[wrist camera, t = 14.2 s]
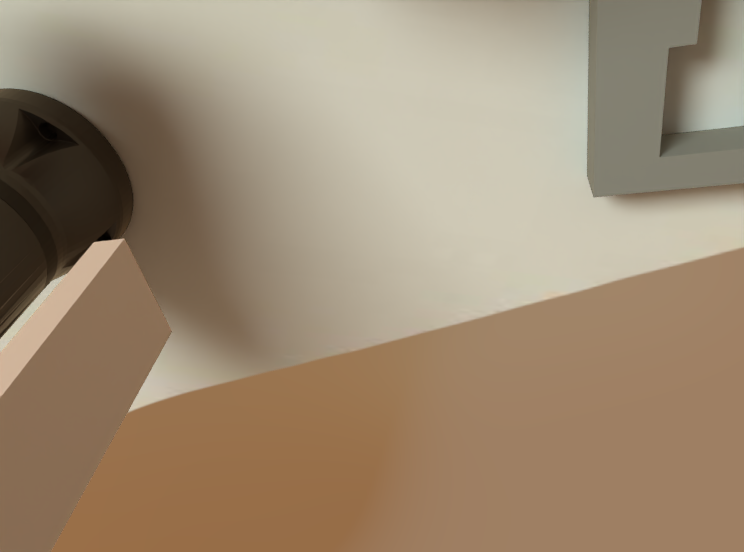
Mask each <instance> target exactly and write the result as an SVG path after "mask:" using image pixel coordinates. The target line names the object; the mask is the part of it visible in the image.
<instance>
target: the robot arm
mask: <svg viewBox="0 0 744 552" xmlns="http://www.w3.org/2000/svg"><path fill="white" fill-rule="evenodd" d="M132 210H133V196H132V189H131V185H130V181H129V178H128V175H127V173H126V170H125V168H124V166H123V164H122V162H121V160H120V159H119V157H118V155H117V154H116V152H115V151H114V149H113V148H112V146H111V145H110V144H109V142H108V141H107V140H106V139H105V138H104V137H103V135H102V134H101V133H100V132H99V131H98V130H97V129H96V128H95V127H94V126H93V125H91V124H90V123H89V122H88V121H87V120H86V119H84V118H83V117H82V116H80V115H79V114H78V113H76V112H75V111H73V110H72V109H70V108H69V107H67V106H65V105H63V104H62V103H60V102H58V101H56V100H53V99H51V98H49V97H46V96H44V95H41V94H38V93H34V92H31V91H26V90H20V89H0V339H1V337H2V336H3V335H4V334H5V333H6V332H7V331H8V329H9V328H10V327H11V326H12V325H13V324H14V323H15V321H16V320H17V319H18V318H19V317H20V316H21V315H22V313H23V312H24V311H25V310H26V309H27V308H28V307H29V306H30V304H31V303H32V302H33V301H34V300H35V299H36V298H37V296H38V295H39V294H40V293H41V292H42V291H43V290H44V288H45V287H46V286H47V285H48V284H49V283H50V282H51V281H52V280H54V279H57V278H59V277H61V276H63V275H65V274H67V275H66V276H65V277H64V278H63V279H62V281H61V282H60V283H59V284H58V285H57V286H56V288H55V289H54V290H53V291H52V292H51V294H50V295H49V296H48V297H47V298H46V299H45V301H44V302H43V303H42V304H41V305H40V307H39V308H38V309H37V310H36V311H35V312H34V314H33V315H32V316H31V317H30V318H29V320H28V321H27V322H26V323H25V324H24V325H23V327H22V328H21V329H20V330H19V331H18V333H17V334H16V335H15V336H14V337H13V339H12V340H11V341H10V342H9V343H8V344H7V346H6V347H5V348H4V349H3V350H2V352H1V353H0V552H51V550H52V548H53V547H54V545H55V543H56V541H57V539H58V538H59V536H60V534H61V532H62V530H63V528H64V527H65V525H66V523H67V521H68V519H69V518H70V516H71V514H72V512H73V510H74V509H75V507H76V505H77V503H78V501H79V499H80V498H81V496H82V494H83V492H84V490H85V488H86V487H87V485H88V483H89V481H90V479H91V478H92V476H93V474H94V472H95V470H96V469H97V467H98V465H99V463H100V461H101V459H102V458H103V456H104V454H105V452H106V450H107V448H108V447H109V445H110V443H111V441H112V439H113V437H114V435H115V434H116V432H117V430H118V429H119V426H120V425H121V423H122V421H123V419H124V418H125V416H126V414H127V412H128V410H129V409H130V407H131V405H132V403H133V401H134V399H135V398H136V396H137V394H138V392H139V390H140V389H141V387H142V385H143V383H144V381H145V379H146V378H147V376H148V374H149V372H150V370H151V369H152V367H153V365H154V363H155V361H156V359H157V358H158V356H159V354H160V352H161V350H162V349H163V347H164V345H165V343H166V341H167V339H168V338H169V336H170V334H171V332H172V331H171V329H170V327H169V325H168V323H167V321H166V319H165V317H164V315H163V313H162V311H161V309H160V307H159V305H158V303H157V301H156V299H155V297H154V295H153V293H152V291H151V289H150V287H149V285H148V284H147V282H146V280H145V278H144V276H143V274H142V272H141V270H140V268H139V266H138V264H137V262H136V260H135V258H134V256H133V254H132V252H131V250H130V248H129V246H128V244H127V242H126V240H125V239H119V238H120V237H121V236H122V234H123V233H124V232H125V230H126V229H127V227H128V225H129V222H130V219H131V216H132Z"/></svg>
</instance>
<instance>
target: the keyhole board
mask: <svg viewBox="0 0 744 552" xmlns="http://www.w3.org/2000/svg"><path fill="white" fill-rule="evenodd" d="M701 3H702V0H589V65H588V142H587V177H588V180H589V184H590V187H591V190H592V194H593V197H602V196H613V195H623V194H634V193H645V192H655V191H666V190H677V189H687V188H698V187H708V186H719V185H730V184H740V183H744V126H740V127H731V128H722V129H713V130H704V131H695V132H686V133H677V134H668V135H661V133H662V122H663V110H664V98H665V87H666V75H667V64H668V52H669V48H672V47H680V46H687V45H694V44H697V39H698V30H699V21H700V12H701Z"/></svg>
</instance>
